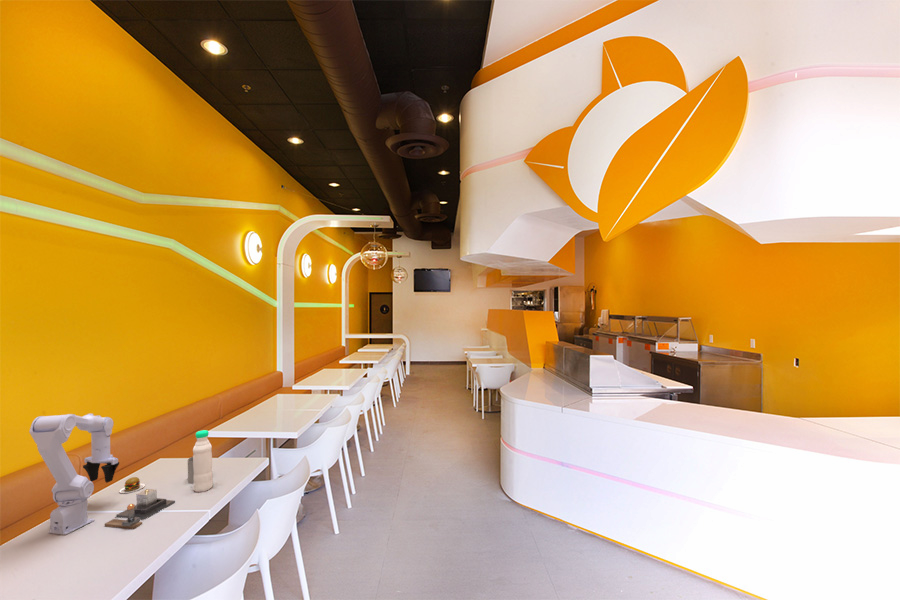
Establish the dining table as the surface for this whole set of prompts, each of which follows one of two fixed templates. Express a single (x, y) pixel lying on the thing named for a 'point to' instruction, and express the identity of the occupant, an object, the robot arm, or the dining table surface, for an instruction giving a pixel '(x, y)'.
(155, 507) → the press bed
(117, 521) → the rail
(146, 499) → the block
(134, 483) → the burger on plate
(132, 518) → the lever
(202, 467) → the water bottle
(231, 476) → the dining table surface
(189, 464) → the cup
